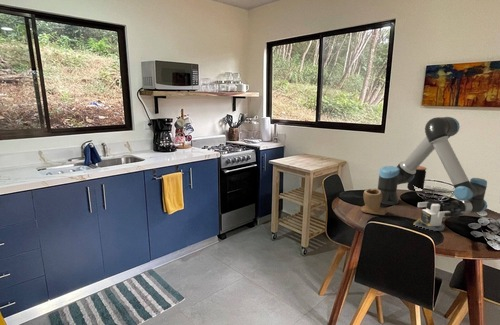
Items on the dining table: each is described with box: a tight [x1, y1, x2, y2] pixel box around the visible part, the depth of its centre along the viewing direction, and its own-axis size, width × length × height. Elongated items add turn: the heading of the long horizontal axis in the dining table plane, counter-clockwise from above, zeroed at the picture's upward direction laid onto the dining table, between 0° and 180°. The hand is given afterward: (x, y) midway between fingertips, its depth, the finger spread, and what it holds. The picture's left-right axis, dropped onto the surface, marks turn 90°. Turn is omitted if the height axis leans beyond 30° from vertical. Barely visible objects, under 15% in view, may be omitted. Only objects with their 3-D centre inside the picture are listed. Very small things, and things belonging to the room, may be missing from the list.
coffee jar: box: [406, 165, 428, 192], centre depth 218 cm, size 11×11×18 cm
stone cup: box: [360, 188, 389, 216], centre depth 174 cm, size 15×12×15 cm
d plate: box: [413, 216, 446, 232], centre depth 158 cm, size 13×13×2 cm
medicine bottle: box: [420, 202, 443, 226], centre depth 157 cm, size 7×7×12 cm
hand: (427, 209), depth 156 cm, fingers open, 13 cm apart
